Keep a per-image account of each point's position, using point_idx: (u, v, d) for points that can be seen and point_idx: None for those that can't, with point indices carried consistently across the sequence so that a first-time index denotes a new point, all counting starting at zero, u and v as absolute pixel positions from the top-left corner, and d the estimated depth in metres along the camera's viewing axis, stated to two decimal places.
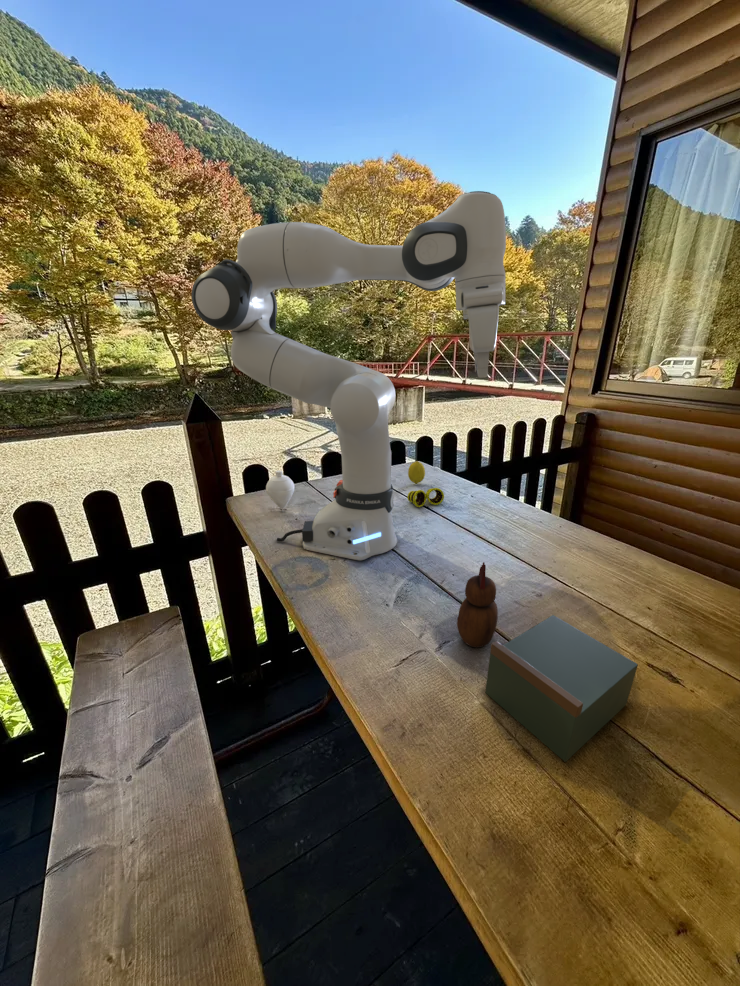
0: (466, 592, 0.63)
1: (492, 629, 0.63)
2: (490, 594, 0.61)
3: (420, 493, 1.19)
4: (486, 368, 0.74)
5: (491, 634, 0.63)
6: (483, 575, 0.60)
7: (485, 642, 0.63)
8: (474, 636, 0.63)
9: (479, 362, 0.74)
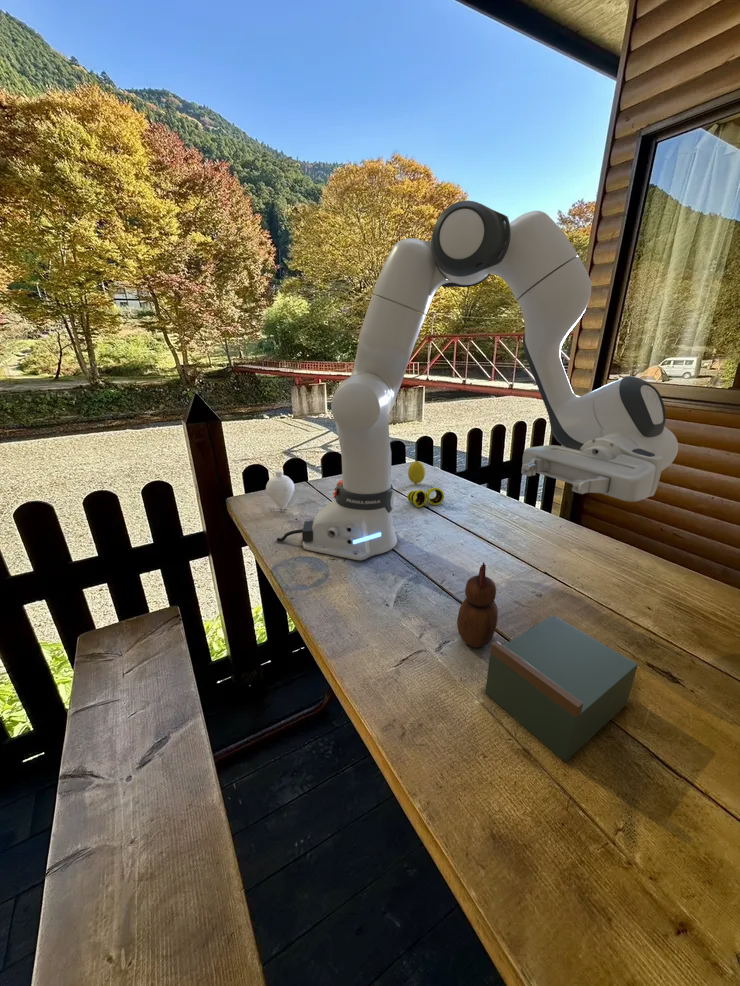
0: (466, 592, 0.63)
1: (492, 629, 0.63)
2: (490, 594, 0.61)
3: (420, 493, 1.19)
4: (587, 491, 0.59)
5: (491, 634, 0.63)
6: (483, 575, 0.60)
7: (485, 642, 0.63)
8: (474, 636, 0.63)
9: (598, 483, 0.59)
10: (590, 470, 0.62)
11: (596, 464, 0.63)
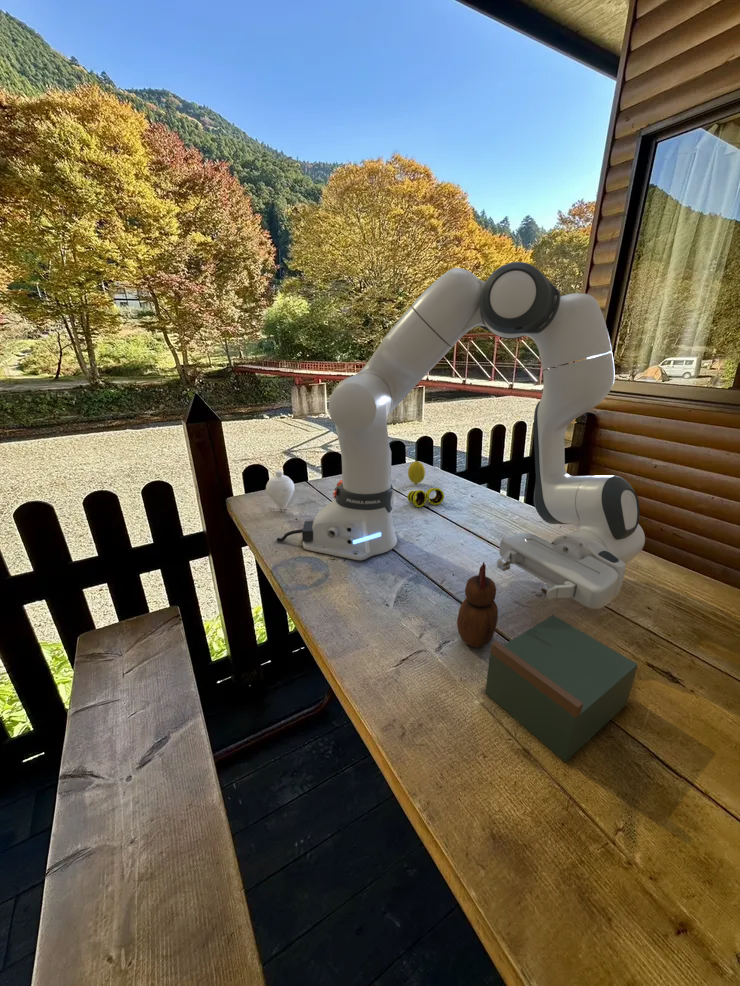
0: (466, 592, 0.63)
1: (492, 629, 0.63)
2: (490, 594, 0.61)
3: (420, 493, 1.19)
4: (555, 596, 0.64)
5: (491, 634, 0.63)
6: (483, 575, 0.60)
7: (485, 642, 0.63)
8: (474, 636, 0.63)
9: (565, 589, 0.64)
10: (559, 573, 0.66)
11: (565, 566, 0.68)
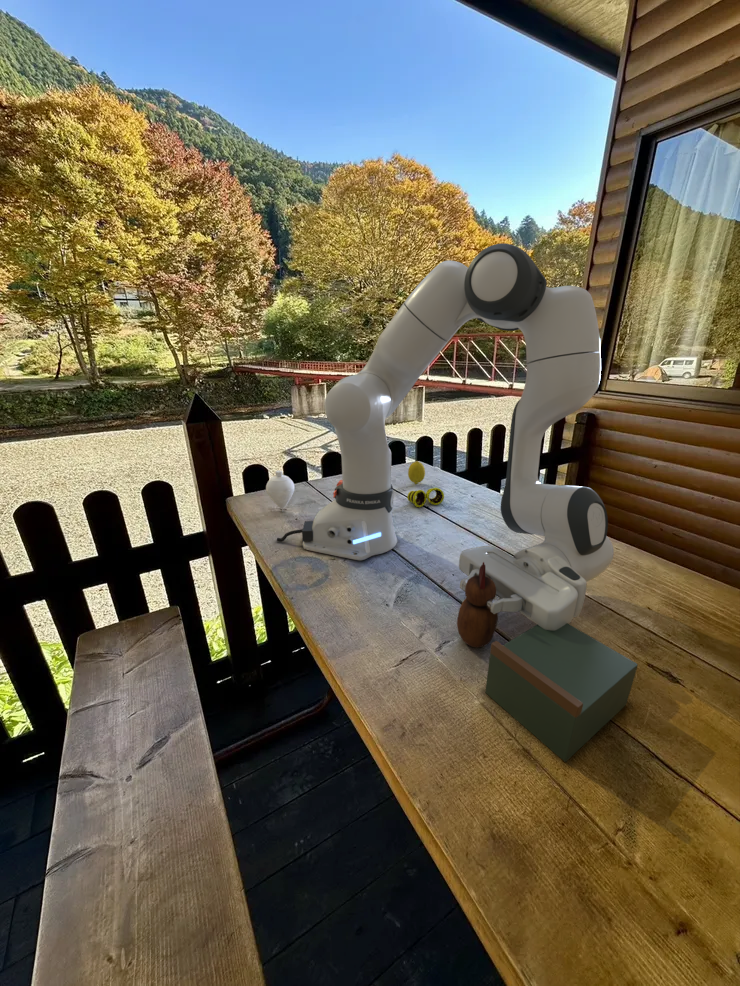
0: (466, 592, 0.63)
1: (492, 629, 0.63)
2: (490, 594, 0.61)
3: (420, 493, 1.19)
4: (500, 610, 0.61)
5: (491, 634, 0.63)
6: (483, 575, 0.60)
7: (485, 642, 0.63)
8: (474, 636, 0.63)
9: (511, 603, 0.61)
10: (515, 591, 0.62)
11: (523, 583, 0.63)
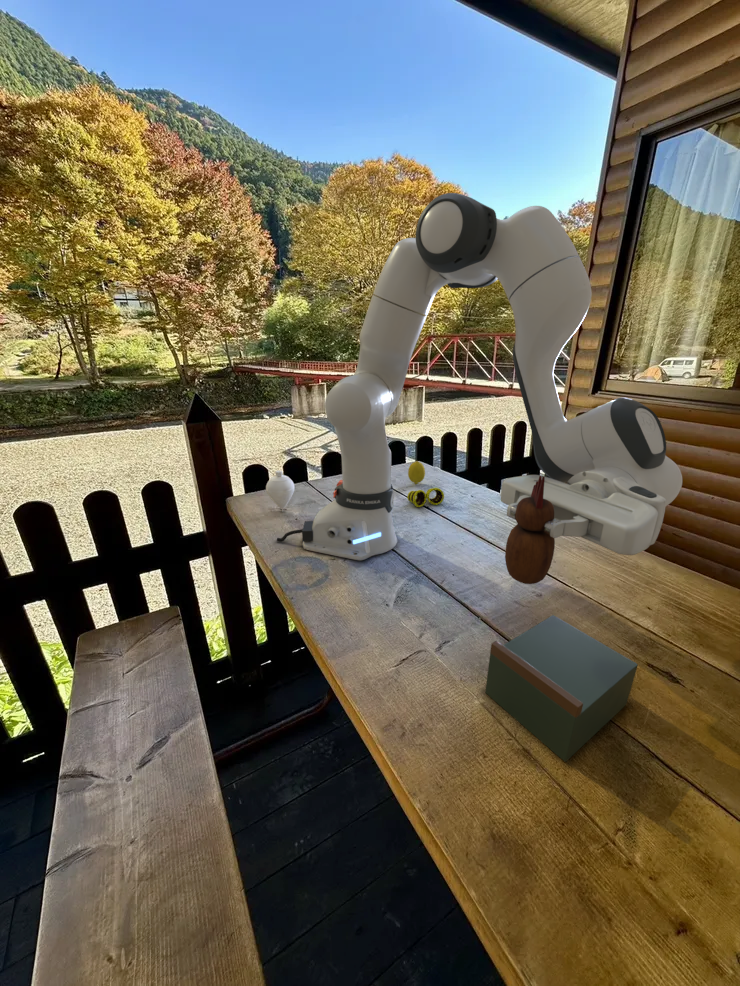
0: (517, 515, 0.52)
1: (550, 560, 0.52)
2: (549, 515, 0.50)
3: (420, 493, 1.19)
4: (561, 534, 0.50)
5: (548, 566, 0.52)
6: (541, 490, 0.49)
7: (541, 576, 0.52)
8: (528, 569, 0.52)
9: (575, 525, 0.50)
10: (578, 513, 0.51)
11: (586, 505, 0.52)
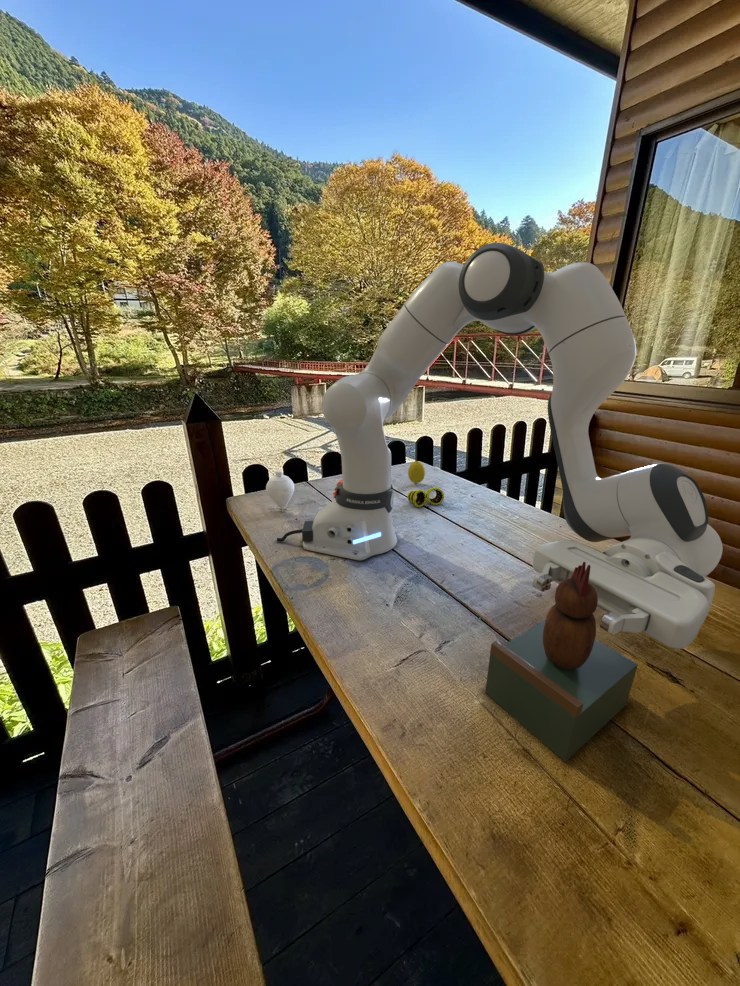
0: (558, 600, 0.49)
1: (592, 647, 0.49)
2: (593, 603, 0.48)
3: (420, 493, 1.19)
4: (620, 630, 0.46)
5: (589, 653, 0.50)
6: (586, 578, 0.47)
7: (581, 663, 0.50)
8: (569, 656, 0.49)
9: (635, 621, 0.46)
10: (622, 597, 0.48)
11: (629, 587, 0.50)
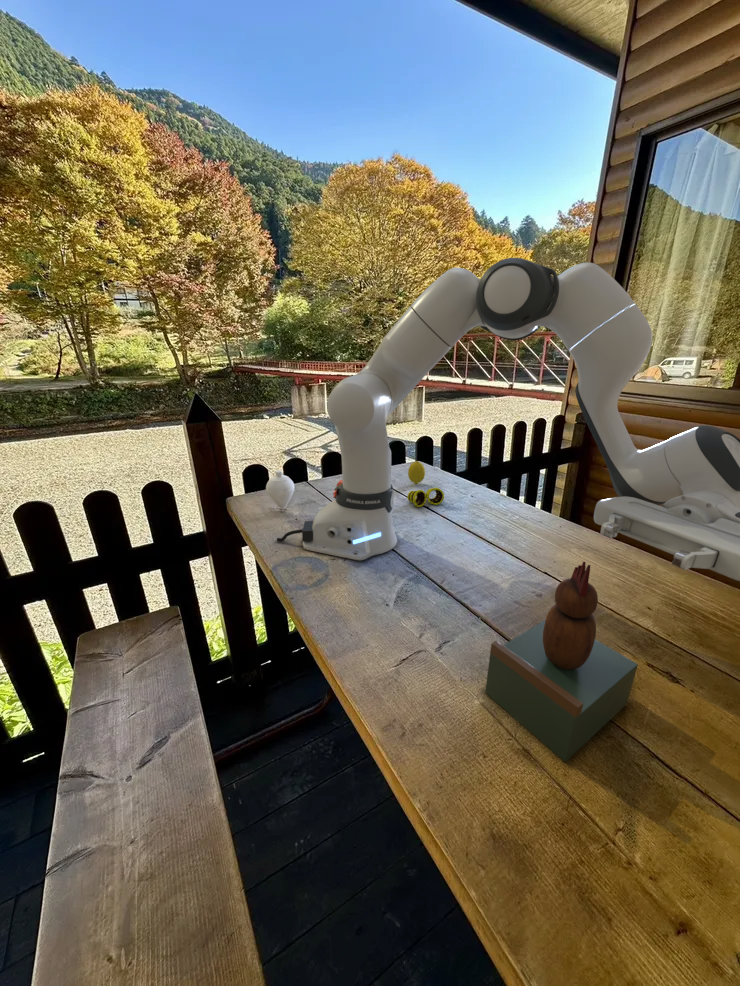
0: (558, 600, 0.49)
1: (592, 647, 0.49)
2: (593, 603, 0.48)
3: (420, 493, 1.19)
4: (691, 566, 0.50)
5: (589, 653, 0.50)
6: (586, 578, 0.47)
7: (581, 663, 0.50)
8: (569, 656, 0.49)
9: (705, 557, 0.50)
10: (690, 538, 0.53)
11: (695, 530, 0.54)
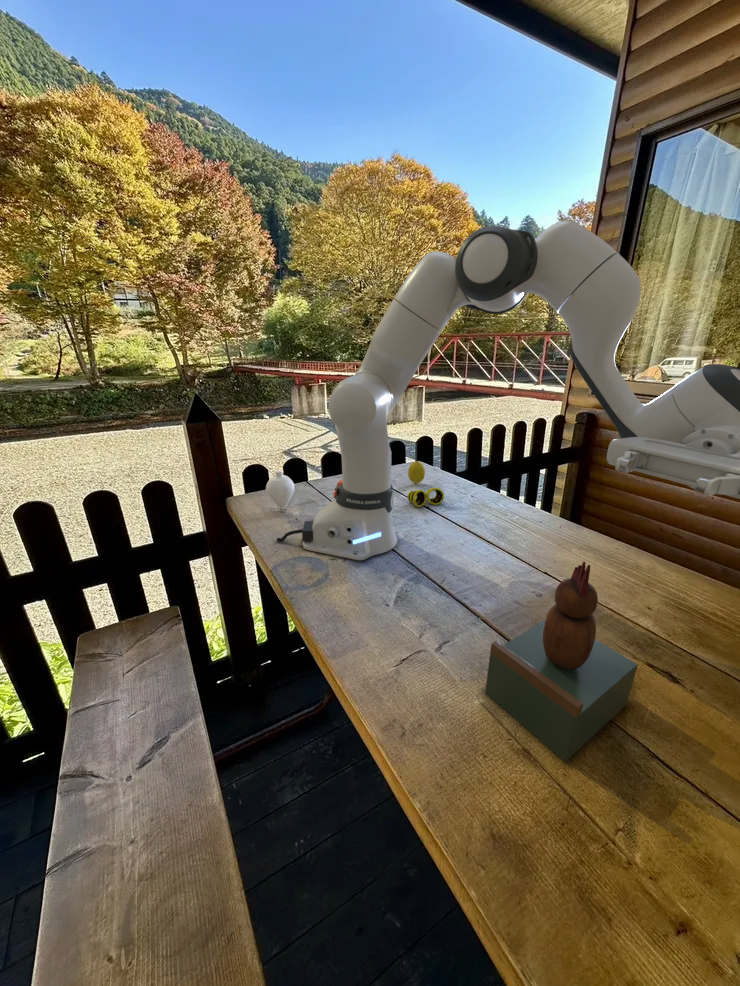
0: (558, 600, 0.49)
1: (592, 647, 0.49)
2: (593, 603, 0.48)
3: (420, 493, 1.19)
4: (715, 492, 0.47)
5: (589, 653, 0.50)
6: (586, 578, 0.47)
7: (581, 663, 0.50)
8: (569, 656, 0.49)
9: (731, 482, 0.46)
10: (713, 466, 0.49)
11: (718, 459, 0.50)
